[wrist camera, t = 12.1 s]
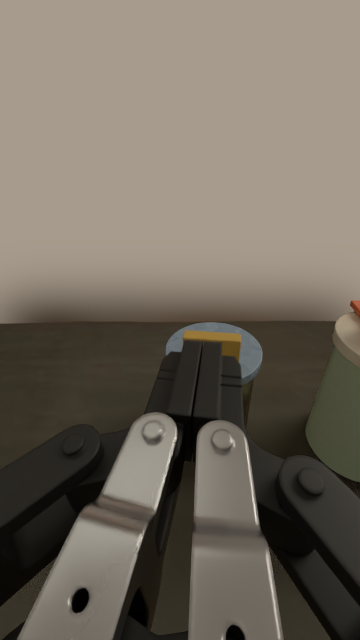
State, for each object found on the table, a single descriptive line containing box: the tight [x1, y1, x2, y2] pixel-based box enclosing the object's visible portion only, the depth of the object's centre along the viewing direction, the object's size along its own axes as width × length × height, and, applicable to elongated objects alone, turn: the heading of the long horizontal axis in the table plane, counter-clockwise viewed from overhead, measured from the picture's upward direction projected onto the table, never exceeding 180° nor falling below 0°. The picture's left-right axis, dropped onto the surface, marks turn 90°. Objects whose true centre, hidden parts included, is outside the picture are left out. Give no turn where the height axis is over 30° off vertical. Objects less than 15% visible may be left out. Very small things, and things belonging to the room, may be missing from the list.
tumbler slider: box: [183, 330, 241, 362], centre depth 20 cm, size 4×4×4 cm
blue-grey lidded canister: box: [165, 322, 262, 453], centre depth 25 cm, size 8×8×11 cm
